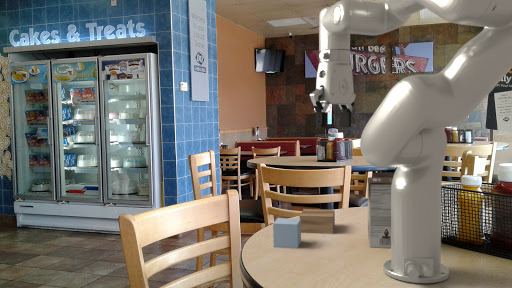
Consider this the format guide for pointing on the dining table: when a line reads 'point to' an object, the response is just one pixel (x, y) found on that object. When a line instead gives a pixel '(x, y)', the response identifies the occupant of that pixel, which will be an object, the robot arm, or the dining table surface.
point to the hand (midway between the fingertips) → (333, 127)
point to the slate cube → (287, 232)
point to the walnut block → (317, 221)
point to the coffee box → (379, 211)
